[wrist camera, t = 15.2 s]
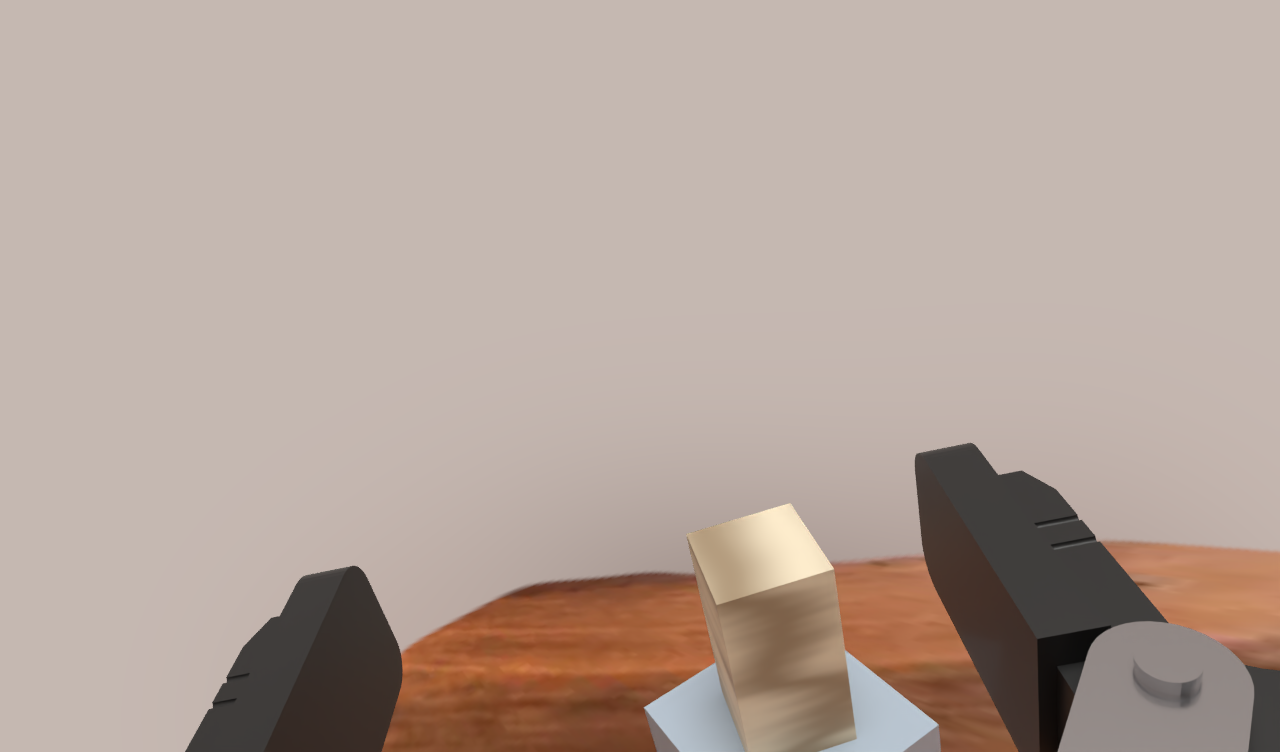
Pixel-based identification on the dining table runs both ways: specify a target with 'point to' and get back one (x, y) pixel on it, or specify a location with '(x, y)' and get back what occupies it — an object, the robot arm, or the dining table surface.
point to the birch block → (775, 632)
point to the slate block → (885, 748)
